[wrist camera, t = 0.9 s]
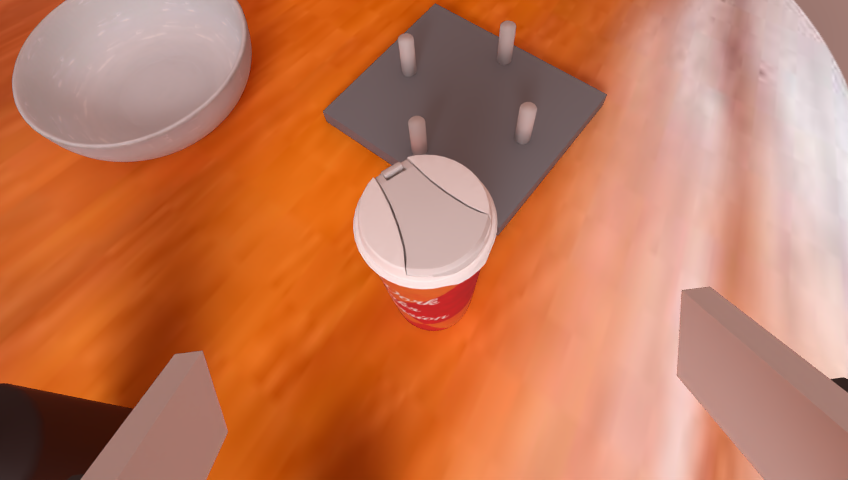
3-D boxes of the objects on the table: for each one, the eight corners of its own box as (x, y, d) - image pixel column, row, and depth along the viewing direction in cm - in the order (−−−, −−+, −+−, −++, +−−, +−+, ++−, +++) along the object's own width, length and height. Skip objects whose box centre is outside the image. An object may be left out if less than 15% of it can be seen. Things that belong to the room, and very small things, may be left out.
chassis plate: (326, 121, 50) (312, 81, 45) (435, 15, 55) (433, -31, 50) (497, 235, 44) (503, 204, 39) (602, 105, 49) (619, 63, 44)
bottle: (100, 422, 39) (-206, 379, 21) (190, 405, 39) (-38, 348, 21) (92, 523, 36) (-270, 573, 18) (188, 504, 37) (-75, 535, 18)
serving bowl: (294, 30, 55) (274, -27, 49) (233, 202, 47) (199, 160, 40) (114, 14, 57) (73, -42, 51) (26, 176, 49) (-37, 132, 43)
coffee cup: (363, 283, 43) (321, 194, 29) (445, 231, 44) (442, 122, 31) (420, 368, 40) (403, 312, 26) (506, 308, 41) (532, 227, 28)
